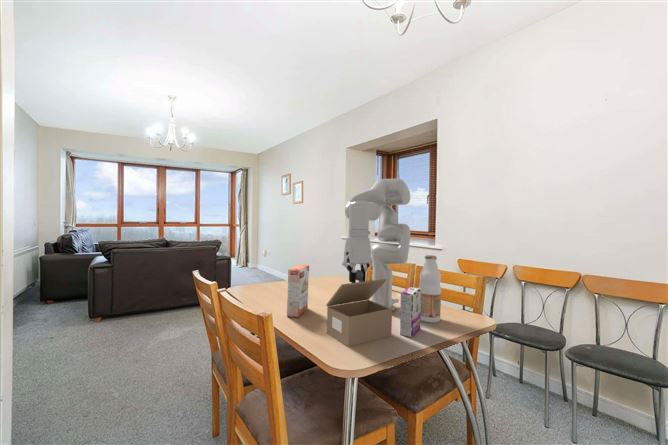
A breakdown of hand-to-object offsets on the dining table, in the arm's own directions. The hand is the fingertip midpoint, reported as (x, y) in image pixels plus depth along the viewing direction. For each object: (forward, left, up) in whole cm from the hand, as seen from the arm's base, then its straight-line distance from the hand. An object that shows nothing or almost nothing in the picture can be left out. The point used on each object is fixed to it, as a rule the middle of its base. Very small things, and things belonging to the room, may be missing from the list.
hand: (357, 281), depth 116 cm
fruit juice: (-37, +4, -20) cm, 42 cm away
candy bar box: (-19, +10, -20) cm, 29 cm away
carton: (0, +2, -20) cm, 20 cm away
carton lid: (0, 0, -5) cm, 5 cm away
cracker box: (+9, -32, -20) cm, 39 cm away
